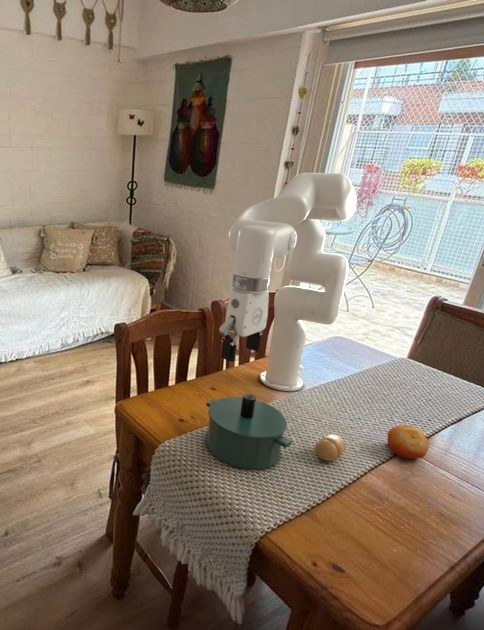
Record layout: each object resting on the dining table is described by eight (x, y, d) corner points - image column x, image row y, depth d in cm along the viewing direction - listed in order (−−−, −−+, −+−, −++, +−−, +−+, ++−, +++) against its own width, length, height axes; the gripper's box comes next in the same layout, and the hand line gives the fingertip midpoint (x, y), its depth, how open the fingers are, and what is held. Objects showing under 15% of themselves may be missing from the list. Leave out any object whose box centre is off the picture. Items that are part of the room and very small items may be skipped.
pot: (226, 417, 121) (229, 389, 118) (303, 458, 104) (309, 427, 101) (185, 437, 112) (187, 408, 109) (262, 486, 95) (267, 453, 92)
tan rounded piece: (326, 445, 109) (329, 428, 107) (347, 455, 105) (351, 438, 103) (309, 457, 104) (312, 439, 103) (330, 468, 101) (334, 450, 99)
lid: (237, 394, 117) (240, 373, 115) (301, 424, 103) (306, 401, 101) (192, 414, 107) (195, 392, 105) (256, 451, 93) (261, 426, 91)
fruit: (407, 435, 111) (425, 421, 105) (420, 466, 106) (439, 453, 99) (374, 433, 111) (389, 419, 105) (384, 464, 106) (401, 450, 100)
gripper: (242, 292, 88) (232, 369, 94) (287, 280, 98) (275, 351, 104) (211, 285, 94) (203, 358, 99) (256, 274, 104) (247, 341, 109)
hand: (240, 354), depth 102 cm, fingers open, 9 cm apart
